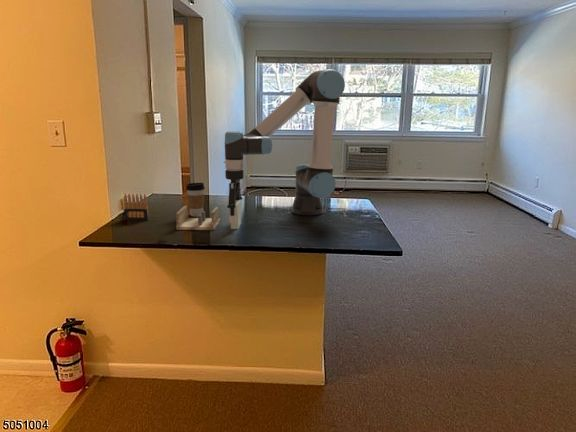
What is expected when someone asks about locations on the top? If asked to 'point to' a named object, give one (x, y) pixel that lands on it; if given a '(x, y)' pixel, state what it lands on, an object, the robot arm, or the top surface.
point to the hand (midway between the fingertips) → (235, 218)
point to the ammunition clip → (136, 208)
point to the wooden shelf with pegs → (196, 220)
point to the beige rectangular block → (237, 215)
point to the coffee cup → (195, 198)
